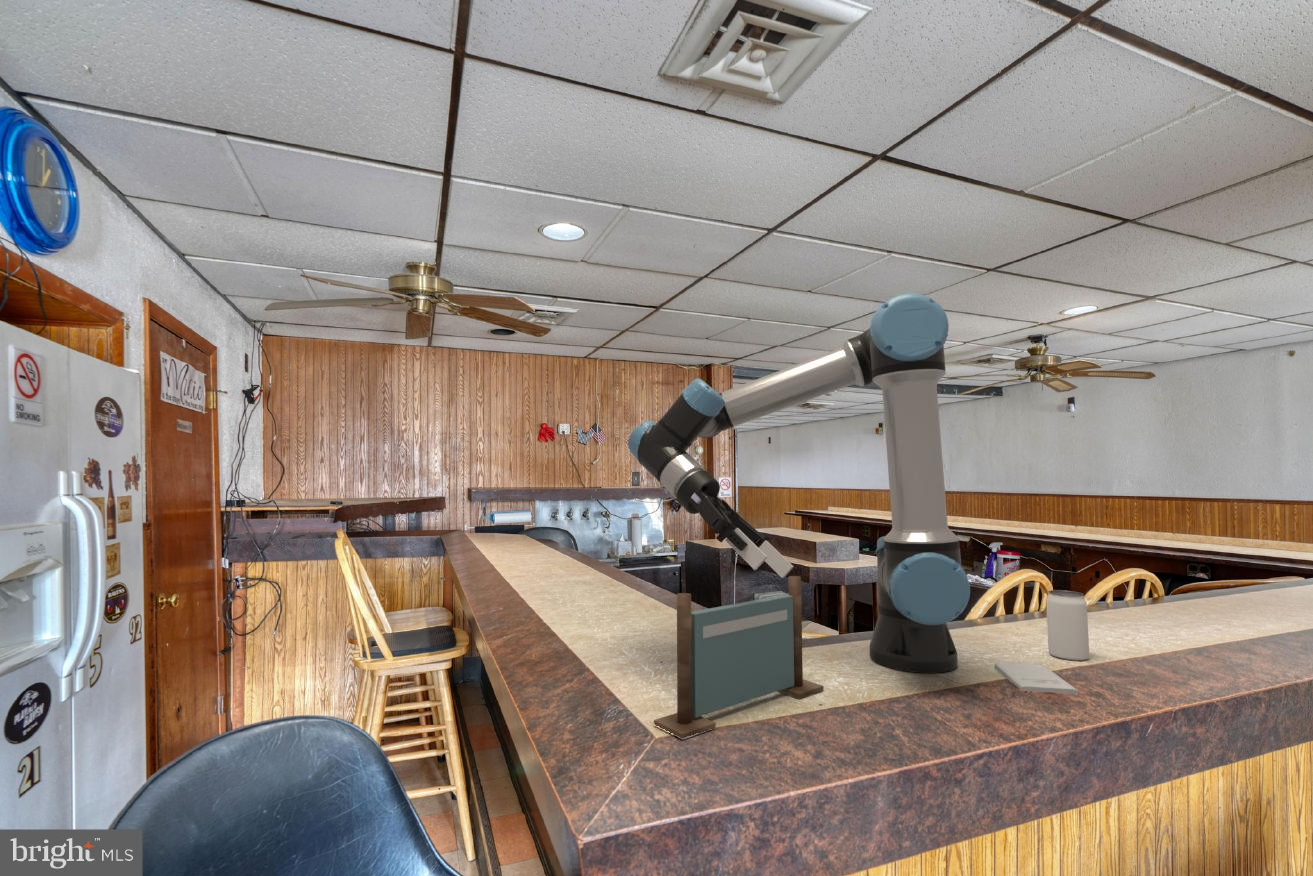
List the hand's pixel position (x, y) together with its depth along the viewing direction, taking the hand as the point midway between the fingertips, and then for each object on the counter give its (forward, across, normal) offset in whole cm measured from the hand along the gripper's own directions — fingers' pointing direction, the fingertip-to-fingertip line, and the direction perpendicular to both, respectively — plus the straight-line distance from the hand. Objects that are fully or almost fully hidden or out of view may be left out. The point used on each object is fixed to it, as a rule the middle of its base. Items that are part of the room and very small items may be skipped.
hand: (775, 568), depth 97 cm
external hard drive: (+36, -32, +12) cm, 49 cm away
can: (+38, -50, +20) cm, 66 cm away
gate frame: (+11, +2, -18) cm, 21 cm away
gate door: (+10, +3, -17) cm, 20 cm away
